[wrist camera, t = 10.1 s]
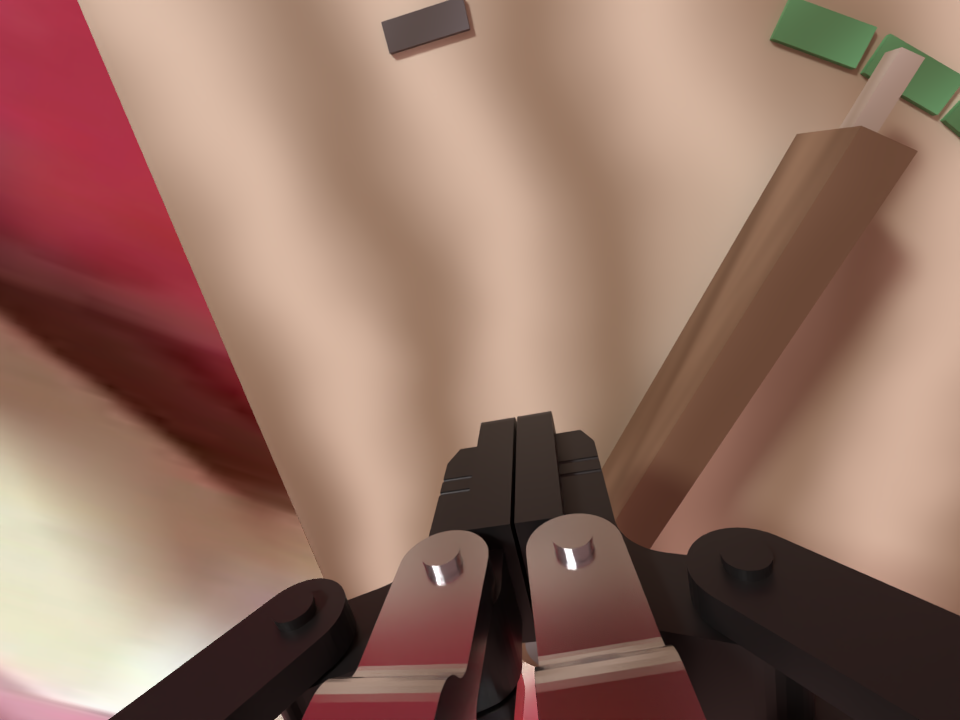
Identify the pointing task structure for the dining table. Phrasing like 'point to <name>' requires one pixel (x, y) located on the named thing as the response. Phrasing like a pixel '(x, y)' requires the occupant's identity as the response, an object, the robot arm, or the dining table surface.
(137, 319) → the dining table surface
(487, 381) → the dial board
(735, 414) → the dial lever
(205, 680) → the robot arm
